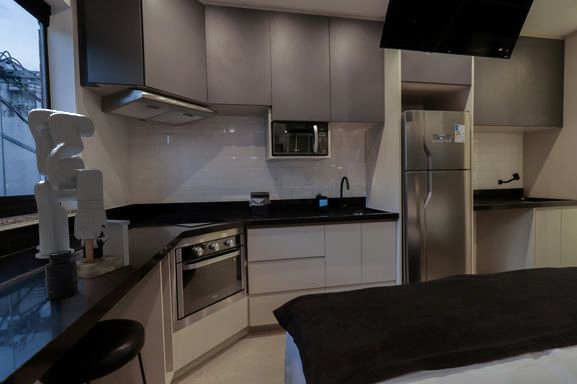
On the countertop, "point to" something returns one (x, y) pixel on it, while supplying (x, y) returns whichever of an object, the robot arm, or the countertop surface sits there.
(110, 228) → the white lidded canister
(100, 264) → the socket block
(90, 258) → the peg
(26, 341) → the countertop surface
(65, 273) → the supplement bottle
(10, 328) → the countertop surface
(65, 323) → the countertop surface
